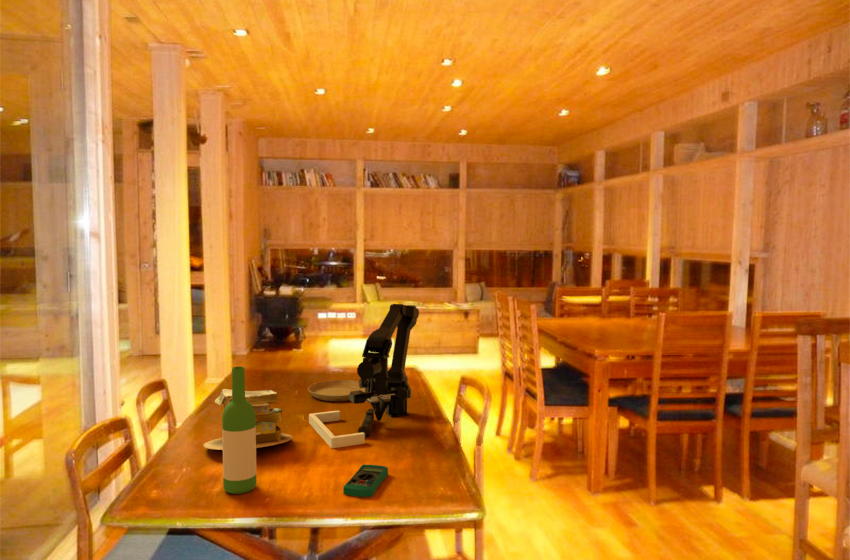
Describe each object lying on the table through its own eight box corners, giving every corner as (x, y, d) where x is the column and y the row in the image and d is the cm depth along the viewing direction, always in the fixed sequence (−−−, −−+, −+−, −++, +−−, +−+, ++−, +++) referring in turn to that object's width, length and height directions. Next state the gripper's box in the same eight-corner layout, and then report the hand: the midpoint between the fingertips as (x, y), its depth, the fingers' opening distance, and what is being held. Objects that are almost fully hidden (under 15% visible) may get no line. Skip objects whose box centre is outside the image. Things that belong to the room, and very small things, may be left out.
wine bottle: (218, 495, 142) (216, 371, 140) (229, 482, 150) (227, 364, 148) (251, 495, 142) (249, 371, 140) (260, 482, 150) (258, 364, 148)
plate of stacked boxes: (209, 436, 185) (208, 383, 183) (291, 430, 190) (291, 379, 189) (198, 465, 161) (197, 405, 159) (292, 458, 166) (292, 399, 165)
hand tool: (370, 439, 184) (370, 424, 183) (357, 438, 184) (357, 423, 183) (379, 420, 202) (379, 407, 202) (367, 420, 203) (368, 406, 202)
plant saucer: (380, 397, 232) (380, 389, 232) (323, 406, 219) (323, 398, 219) (352, 385, 252) (352, 377, 252) (298, 393, 239) (298, 384, 239)
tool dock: (338, 419, 203) (338, 410, 203) (364, 443, 179) (364, 433, 178) (308, 422, 199) (308, 413, 199) (331, 448, 174) (331, 438, 174)
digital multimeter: (341, 497, 142) (341, 485, 142) (361, 473, 157) (361, 462, 157) (371, 500, 141) (371, 488, 141) (388, 476, 155) (388, 465, 155)
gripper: (395, 366, 205) (395, 411, 206) (343, 371, 197) (343, 417, 198) (409, 372, 195) (408, 419, 196) (354, 378, 187) (354, 426, 188)
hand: (378, 420), depth 195 cm, fingers closed
